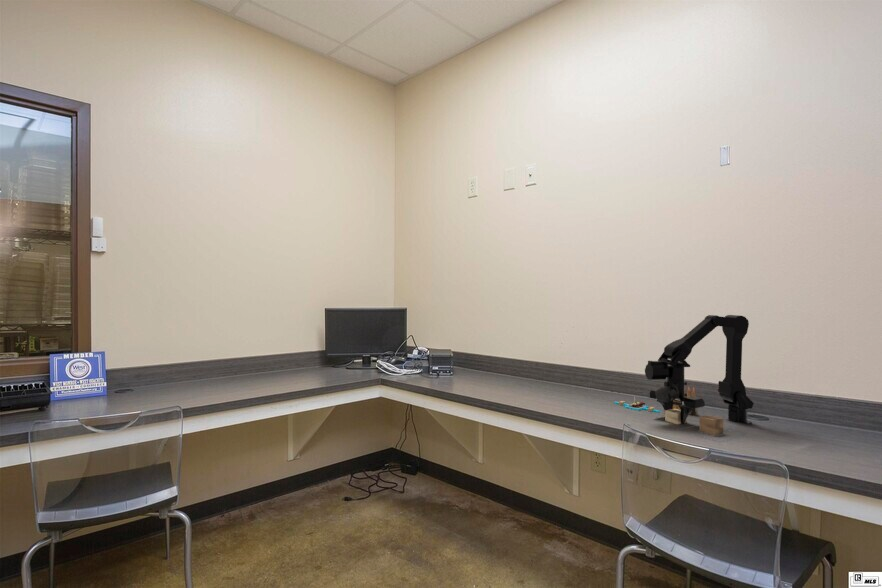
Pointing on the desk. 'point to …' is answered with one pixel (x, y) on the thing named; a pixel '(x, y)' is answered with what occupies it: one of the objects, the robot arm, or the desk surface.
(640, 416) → the desk surface
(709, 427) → the walnut block
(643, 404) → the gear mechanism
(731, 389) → the robot arm
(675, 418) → the maple block
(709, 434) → the blueprint board
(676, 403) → the ammunition clip
